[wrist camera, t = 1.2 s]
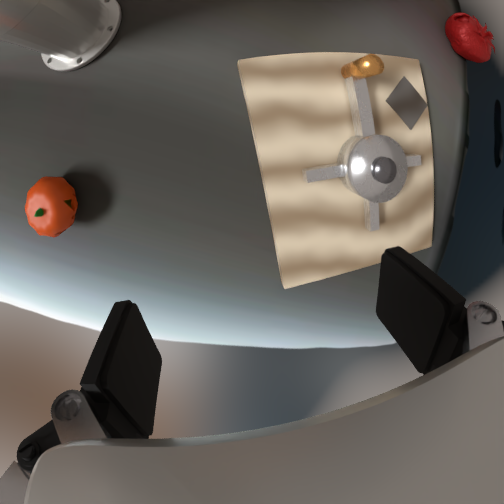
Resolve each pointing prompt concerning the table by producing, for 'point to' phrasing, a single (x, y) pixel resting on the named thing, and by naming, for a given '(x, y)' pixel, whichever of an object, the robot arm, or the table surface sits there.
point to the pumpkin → (51, 206)
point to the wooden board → (335, 160)
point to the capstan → (366, 148)
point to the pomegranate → (469, 37)
